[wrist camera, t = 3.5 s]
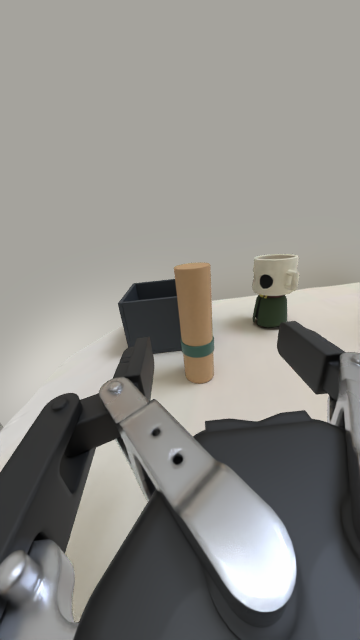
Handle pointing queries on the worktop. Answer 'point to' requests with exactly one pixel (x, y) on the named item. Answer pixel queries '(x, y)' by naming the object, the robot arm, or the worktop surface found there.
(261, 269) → the character mug
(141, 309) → the bin
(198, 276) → the banded cardboard tube
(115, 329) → the worktop surface
